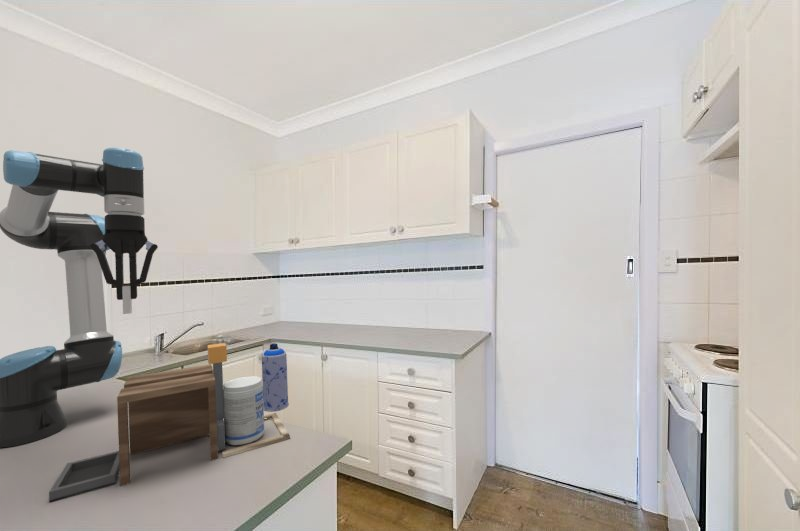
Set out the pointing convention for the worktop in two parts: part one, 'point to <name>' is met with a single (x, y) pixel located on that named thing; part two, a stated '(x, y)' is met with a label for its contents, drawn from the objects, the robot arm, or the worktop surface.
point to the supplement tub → (243, 410)
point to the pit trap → (86, 476)
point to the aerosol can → (274, 379)
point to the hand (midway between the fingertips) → (127, 312)
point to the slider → (218, 387)
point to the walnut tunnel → (166, 412)
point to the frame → (262, 443)
